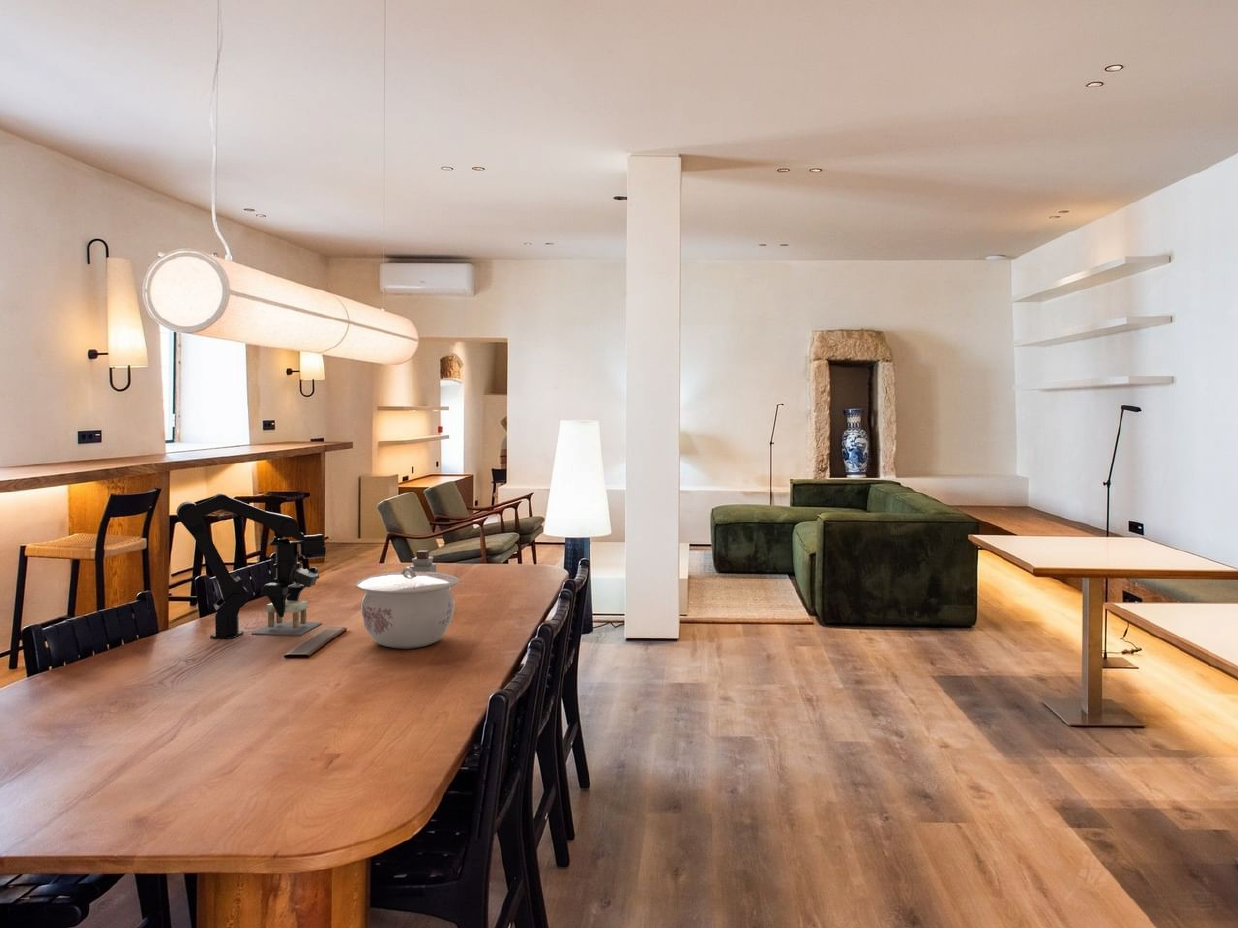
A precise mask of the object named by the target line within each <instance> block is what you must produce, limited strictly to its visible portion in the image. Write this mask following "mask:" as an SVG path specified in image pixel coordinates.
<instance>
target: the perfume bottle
mask: <svg viewBox="0 0 1238 928" xmlns="http://www.w3.org/2000/svg"><path fill="white" fill-rule="evenodd" d="M415 554H416V556H415V557H414V558H412V559H411V561H412V564H411V565H409V566H408V567H410V568H411V569H412V570H413V571H429V572H437V563H434V562H433V560H434V556H430V550H429V549H428V550H427V549H420V550H417V551H416V552H415Z"/></svg>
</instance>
